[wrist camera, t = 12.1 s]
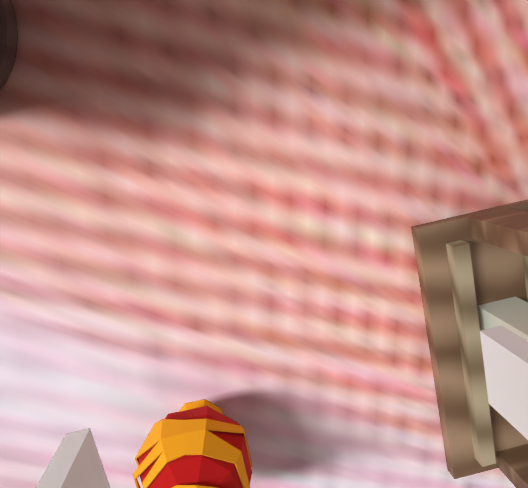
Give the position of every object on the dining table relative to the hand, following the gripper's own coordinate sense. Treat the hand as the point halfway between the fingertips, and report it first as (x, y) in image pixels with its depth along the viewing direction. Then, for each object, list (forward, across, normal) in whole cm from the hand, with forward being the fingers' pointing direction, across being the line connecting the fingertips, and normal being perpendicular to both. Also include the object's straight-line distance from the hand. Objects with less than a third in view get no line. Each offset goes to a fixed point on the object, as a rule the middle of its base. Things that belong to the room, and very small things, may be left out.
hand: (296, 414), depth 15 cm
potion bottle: (+29, -9, -17) cm, 35 cm away
